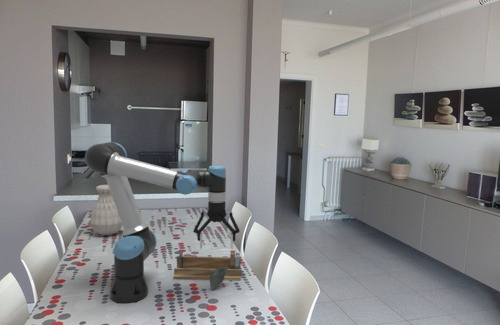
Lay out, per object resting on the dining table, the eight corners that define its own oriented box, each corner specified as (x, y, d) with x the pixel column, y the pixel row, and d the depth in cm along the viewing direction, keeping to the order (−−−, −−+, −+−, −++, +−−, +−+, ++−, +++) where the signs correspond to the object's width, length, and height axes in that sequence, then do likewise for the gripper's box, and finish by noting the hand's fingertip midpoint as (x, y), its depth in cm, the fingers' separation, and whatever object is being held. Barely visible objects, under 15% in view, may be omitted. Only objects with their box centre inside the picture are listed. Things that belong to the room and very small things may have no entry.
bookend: (181, 273, 177) (181, 254, 176) (174, 273, 177) (174, 254, 176) (182, 268, 182) (182, 251, 181) (176, 268, 182) (176, 250, 181)
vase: (85, 231, 239) (84, 185, 235) (116, 226, 252) (116, 182, 248) (96, 239, 224) (96, 190, 220) (129, 233, 237) (128, 187, 234)
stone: (223, 281, 173) (224, 260, 172) (230, 284, 170) (231, 263, 169) (207, 289, 165) (207, 267, 163) (213, 292, 162) (214, 270, 161)
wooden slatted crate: (240, 280, 175) (240, 257, 173) (173, 279, 174) (173, 255, 173) (240, 270, 187) (241, 248, 185) (177, 268, 186) (177, 246, 184)
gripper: (245, 199, 169) (244, 245, 171) (189, 198, 168) (189, 244, 170) (245, 203, 161) (244, 250, 164) (187, 202, 160) (187, 250, 163)
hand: (216, 247), depth 167 cm, fingers open, 13 cm apart
